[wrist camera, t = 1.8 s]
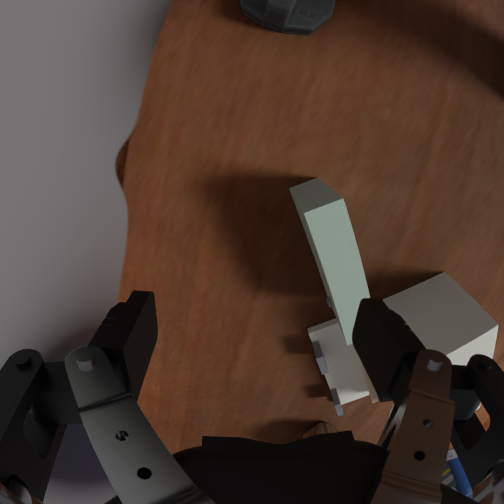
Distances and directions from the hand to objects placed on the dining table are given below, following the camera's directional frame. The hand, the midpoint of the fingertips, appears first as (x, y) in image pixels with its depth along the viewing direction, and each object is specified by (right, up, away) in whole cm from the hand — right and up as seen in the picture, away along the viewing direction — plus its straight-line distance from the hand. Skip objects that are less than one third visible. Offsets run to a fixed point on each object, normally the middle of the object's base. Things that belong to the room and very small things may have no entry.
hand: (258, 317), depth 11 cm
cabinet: (+18, -10, +26) cm, 33 cm away
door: (+7, +4, +20) cm, 22 cm away
